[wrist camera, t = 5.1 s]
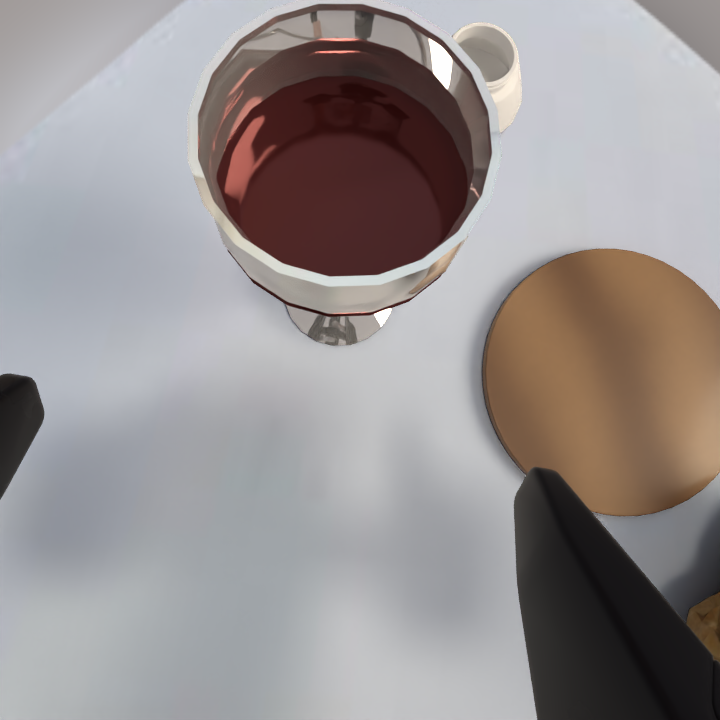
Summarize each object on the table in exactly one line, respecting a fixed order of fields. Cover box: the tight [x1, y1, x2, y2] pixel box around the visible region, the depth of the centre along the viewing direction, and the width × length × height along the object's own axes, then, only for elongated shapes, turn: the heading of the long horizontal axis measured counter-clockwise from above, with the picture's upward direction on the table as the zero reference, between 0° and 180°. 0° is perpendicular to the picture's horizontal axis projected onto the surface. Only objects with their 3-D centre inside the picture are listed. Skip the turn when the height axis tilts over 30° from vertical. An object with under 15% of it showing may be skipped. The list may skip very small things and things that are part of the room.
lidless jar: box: [451, 22, 522, 133], centre depth 22 cm, size 5×3×5 cm
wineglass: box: [188, 0, 502, 345], centre depth 16 cm, size 7×7×12 cm
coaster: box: [482, 249, 720, 516], centre depth 22 cm, size 12×12×1 cm
